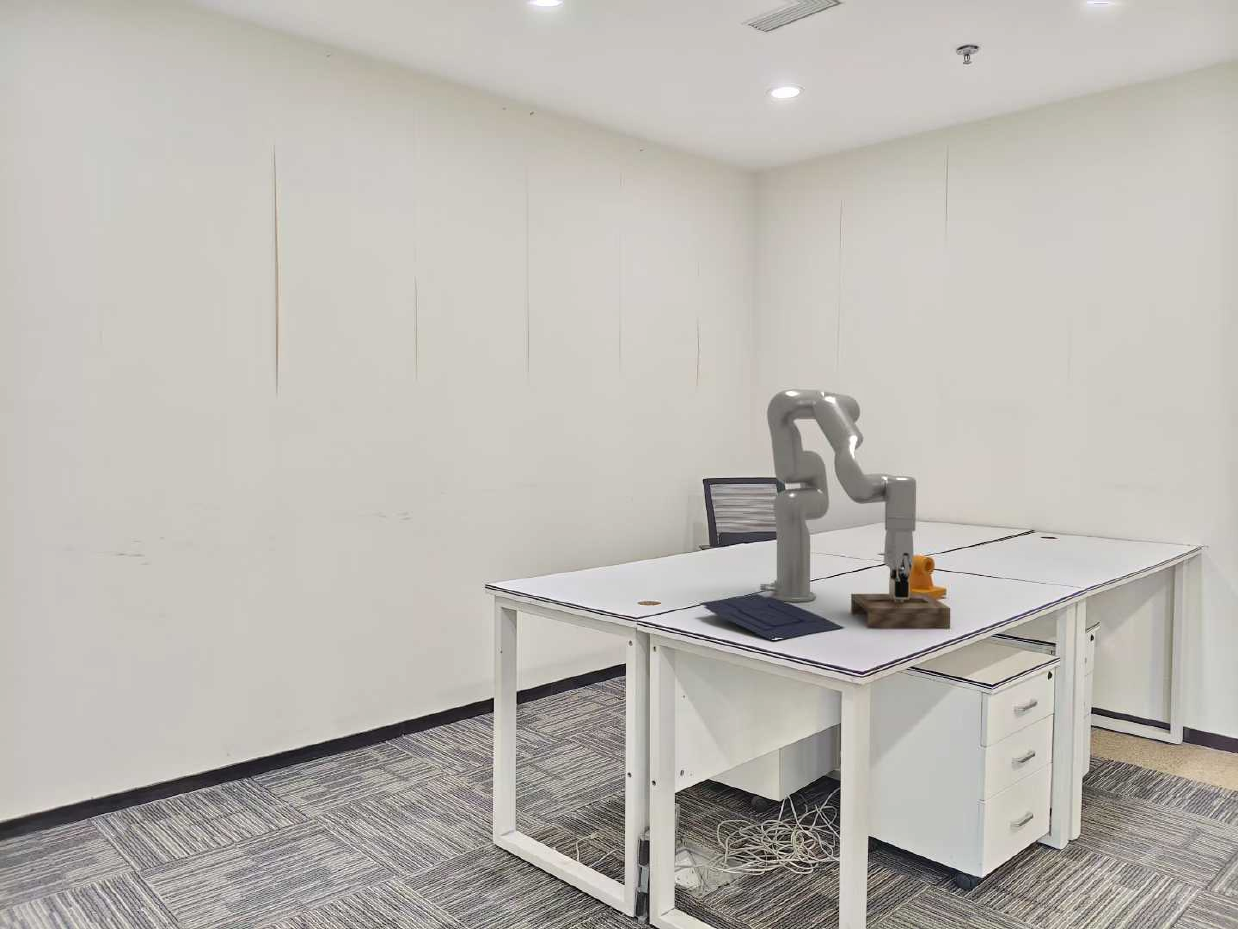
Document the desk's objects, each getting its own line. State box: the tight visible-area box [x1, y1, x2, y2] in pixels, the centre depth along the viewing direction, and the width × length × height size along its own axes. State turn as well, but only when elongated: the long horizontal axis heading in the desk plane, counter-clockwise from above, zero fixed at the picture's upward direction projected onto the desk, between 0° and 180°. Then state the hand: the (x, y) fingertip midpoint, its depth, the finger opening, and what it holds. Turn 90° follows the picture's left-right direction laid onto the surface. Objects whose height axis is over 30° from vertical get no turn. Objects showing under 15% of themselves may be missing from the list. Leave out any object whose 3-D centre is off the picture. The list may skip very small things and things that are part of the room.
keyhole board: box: [850, 593, 951, 629], centre depth 230 cm, size 20×18×5 cm
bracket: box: [909, 554, 947, 601], centre depth 258 cm, size 11×7×12 cm, turn 122°
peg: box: [888, 576, 910, 602], centre depth 230 cm, size 4×4×10 cm
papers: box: [699, 593, 844, 641], centre depth 228 cm, size 24×30×4 cm
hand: (898, 594), depth 230 cm, fingers closed on peg, 4 cm apart
